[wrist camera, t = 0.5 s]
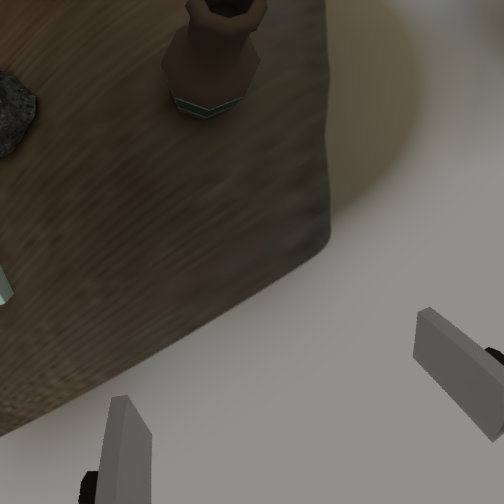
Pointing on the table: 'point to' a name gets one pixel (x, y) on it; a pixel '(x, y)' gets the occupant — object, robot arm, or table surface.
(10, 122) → the rock
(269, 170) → the table surface
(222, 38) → the beer bottle
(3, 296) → the tray
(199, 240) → the table surface
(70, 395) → the table surface
